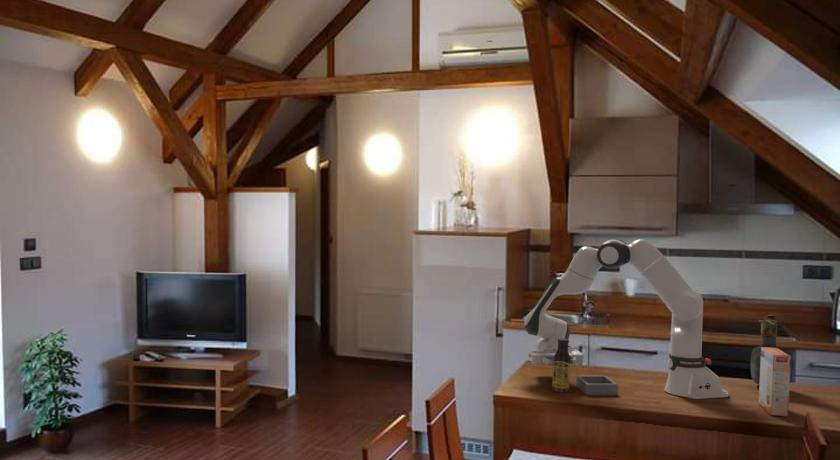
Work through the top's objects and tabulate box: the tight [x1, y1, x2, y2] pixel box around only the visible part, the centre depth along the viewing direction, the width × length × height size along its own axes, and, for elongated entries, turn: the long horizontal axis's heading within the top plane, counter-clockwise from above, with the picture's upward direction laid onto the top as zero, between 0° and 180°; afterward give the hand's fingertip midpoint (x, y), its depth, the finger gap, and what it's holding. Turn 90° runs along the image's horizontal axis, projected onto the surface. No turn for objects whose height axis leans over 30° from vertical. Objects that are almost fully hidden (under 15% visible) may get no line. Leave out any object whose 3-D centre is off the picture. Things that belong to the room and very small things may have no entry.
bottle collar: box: [575, 375, 619, 396], centre depth 257 cm, size 12×13×4 cm
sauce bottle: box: [551, 338, 571, 394], centre depth 255 cm, size 7×6×20 cm
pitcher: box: [750, 311, 783, 391], centre depth 263 cm, size 11×19×30 cm, turn 163°
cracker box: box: [758, 347, 792, 418], centre depth 234 cm, size 14×6×21 cm, turn 168°
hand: (561, 362), depth 255 cm, fingers open, 8 cm apart
